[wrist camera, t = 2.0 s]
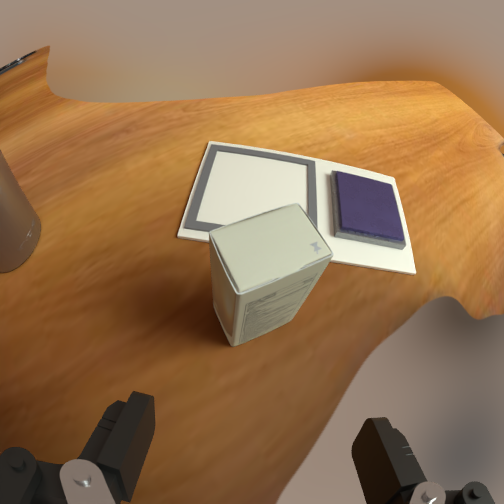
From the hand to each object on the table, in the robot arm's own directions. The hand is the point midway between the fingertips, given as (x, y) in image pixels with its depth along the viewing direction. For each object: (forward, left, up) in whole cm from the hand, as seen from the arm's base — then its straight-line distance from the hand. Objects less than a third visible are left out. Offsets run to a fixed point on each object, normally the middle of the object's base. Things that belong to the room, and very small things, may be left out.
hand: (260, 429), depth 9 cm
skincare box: (0, +10, -15) cm, 18 cm away
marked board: (+5, +25, -14) cm, 29 cm away
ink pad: (+13, +25, -14) cm, 31 cm away
